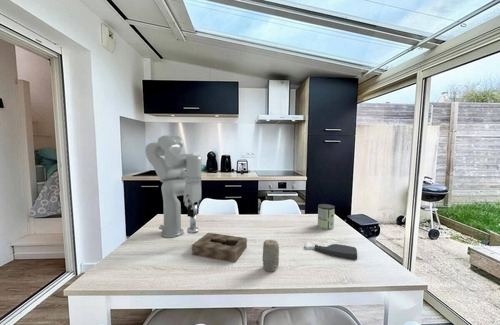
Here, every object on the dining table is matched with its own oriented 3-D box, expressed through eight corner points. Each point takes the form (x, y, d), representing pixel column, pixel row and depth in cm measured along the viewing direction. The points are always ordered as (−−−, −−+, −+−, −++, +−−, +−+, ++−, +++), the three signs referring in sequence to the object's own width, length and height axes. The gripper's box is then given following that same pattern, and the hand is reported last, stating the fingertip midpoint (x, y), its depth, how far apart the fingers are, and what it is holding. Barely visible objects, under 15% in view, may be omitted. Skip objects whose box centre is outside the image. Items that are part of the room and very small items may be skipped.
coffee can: (319, 223, 157) (320, 203, 156) (335, 226, 151) (336, 205, 150) (315, 227, 148) (316, 206, 147) (331, 231, 143) (332, 208, 142)
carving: (259, 269, 97) (259, 241, 96) (270, 263, 103) (271, 236, 102) (270, 275, 93) (271, 246, 92) (281, 268, 98) (282, 241, 97)
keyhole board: (192, 254, 109) (192, 244, 109) (208, 241, 124) (208, 232, 124) (235, 262, 103) (235, 251, 102) (246, 247, 118) (246, 238, 117)
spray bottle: (357, 261, 106) (303, 252, 115) (356, 252, 116) (307, 243, 125) (357, 255, 105) (303, 246, 115) (356, 246, 115) (307, 238, 125)
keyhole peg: (185, 232, 116) (185, 205, 115) (191, 228, 122) (191, 203, 120) (194, 234, 115) (195, 207, 113) (200, 230, 120) (200, 204, 119)
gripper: (195, 176, 125) (195, 209, 126) (177, 181, 109) (176, 219, 110) (208, 178, 122) (207, 211, 124) (190, 183, 106) (190, 221, 108)
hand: (193, 214), depth 117 cm, fingers closed on keyhole peg, 4 cm apart
